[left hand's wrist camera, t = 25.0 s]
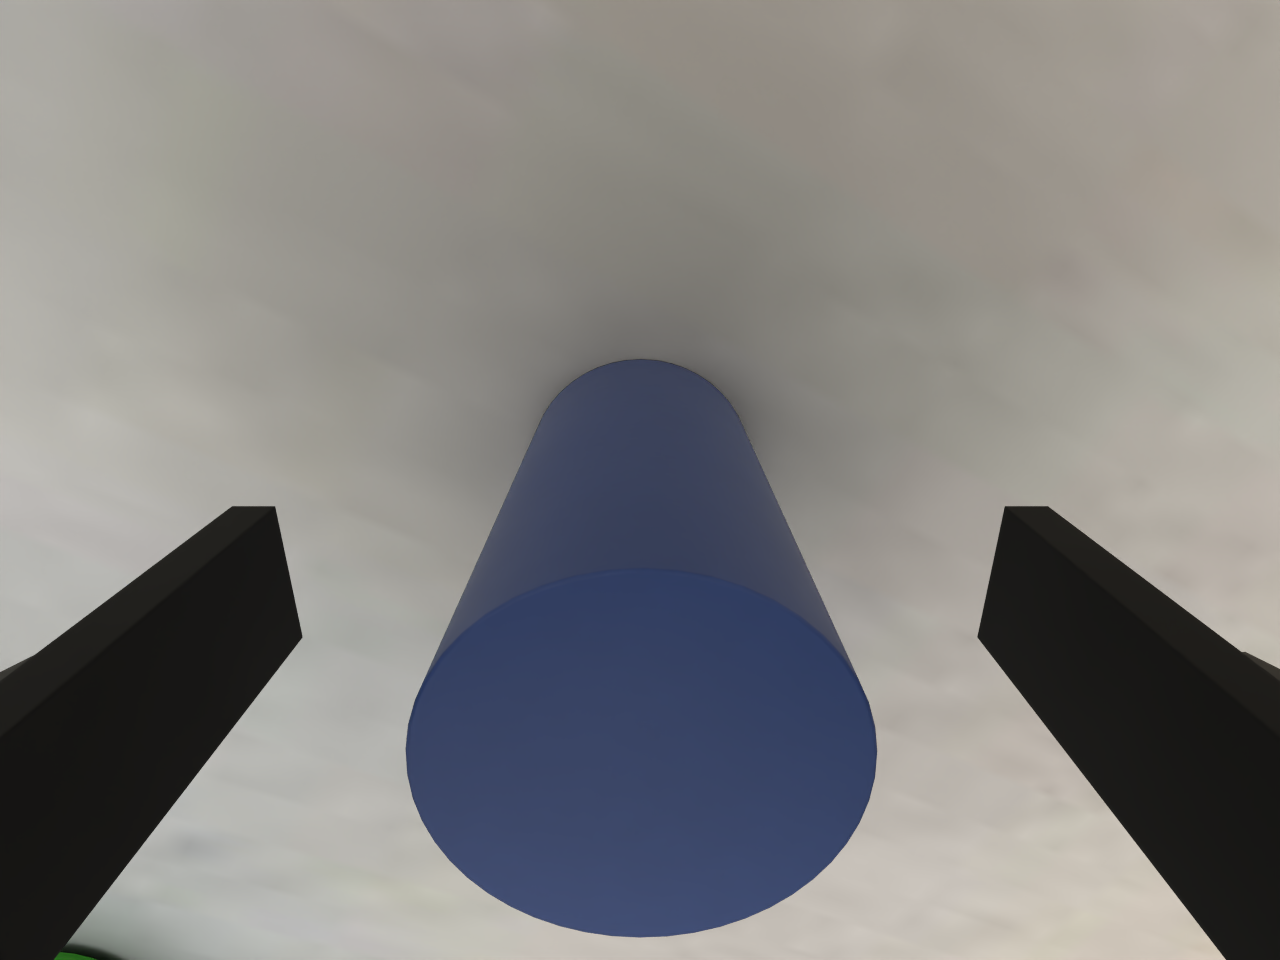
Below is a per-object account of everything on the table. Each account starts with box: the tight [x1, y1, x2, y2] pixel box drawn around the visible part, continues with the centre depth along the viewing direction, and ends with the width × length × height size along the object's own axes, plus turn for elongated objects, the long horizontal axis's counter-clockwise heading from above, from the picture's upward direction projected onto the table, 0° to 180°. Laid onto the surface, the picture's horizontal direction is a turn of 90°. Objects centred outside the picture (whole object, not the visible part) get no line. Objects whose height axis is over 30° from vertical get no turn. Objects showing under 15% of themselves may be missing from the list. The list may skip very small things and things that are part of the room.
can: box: [406, 359, 877, 937], centre depth 13 cm, size 6×6×10 cm
